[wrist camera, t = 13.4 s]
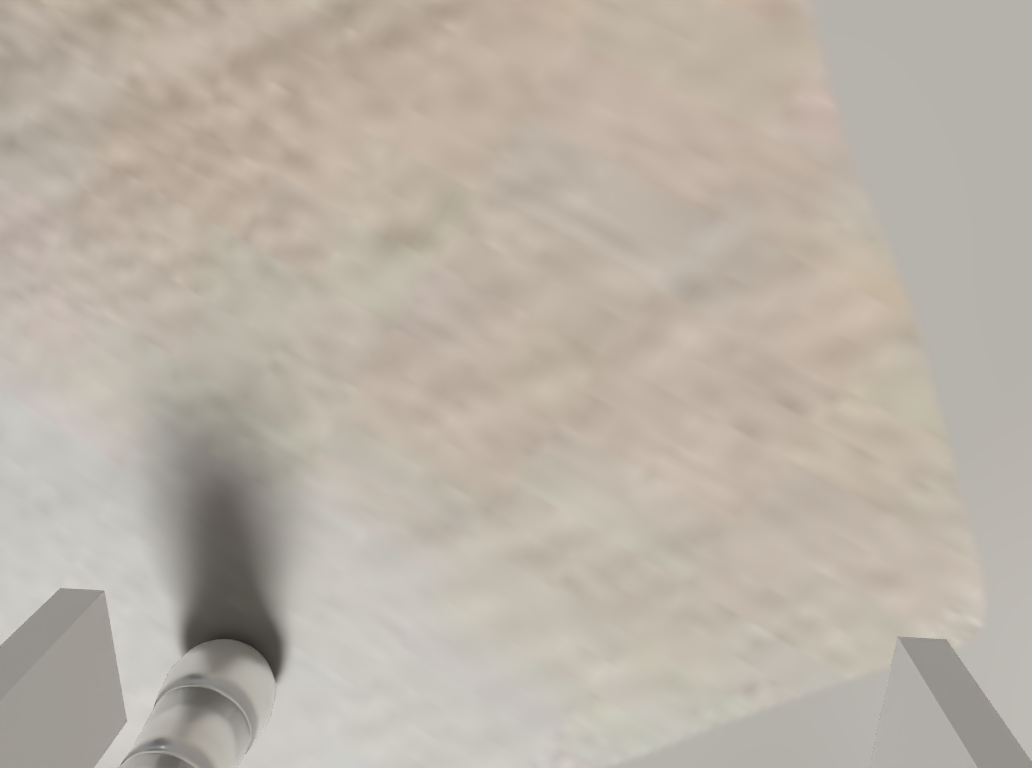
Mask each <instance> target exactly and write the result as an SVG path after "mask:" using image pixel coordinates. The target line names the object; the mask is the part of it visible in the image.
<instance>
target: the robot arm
mask: <svg viewBox="0 0 1032 768" xmlns="http://www.w3.org/2000/svg"><path fill="white" fill-rule="evenodd" d="M126 722H127V719H126V713H125V708H124V702H123V696H122V690H121V684H120V679H119V673H118V667H117V661H116V655H115V650H114V644H113V638H112V632H111V626H110V621H109V615H108V609H107V603H106V598H105V592H104V591H100V590H83V589H65V588H60V589H59V590H58V591H57V592H56V593H55V594H54V595H53V596H52V597H51V598H50V599H49V600H48V601H47V602H46V603H45V604H43V605H42V606H41V607H40V608H39V609H38V610H37V611H36V612H35V613H34V614H33V615H32V616H31V617H30V618H29V619H28V620H27V621H26V622H25V623H24V624H23V625H22V626H21V627H20V628H18V629H17V630H16V631H15V632H14V633H13V634H12V635H11V636H10V637H9V638H8V639H7V640H6V641H5V642H4V643H3V644H2V645H1V646H0V768H94V767H95V766H96V764H97V763H98V761H99V760H100V759H101V757H102V756H103V754H104V753H105V751H106V750H107V749H108V747H109V746H110V744H111V743H112V742H113V740H114V739H115V737H116V736H117V735H118V733H119V732H120V730H121V729H122V728H123V726H124V725H125V723H126ZM869 768H1032V761H1031V760H1030V758H1029V757H1028V756H1027V754H1026V753H1025V751H1024V750H1023V748H1022V747H1021V746H1020V744H1019V743H1018V742H1017V740H1016V738H1015V737H1014V736H1013V734H1012V733H1011V731H1010V730H1009V729H1008V727H1007V726H1006V724H1005V723H1004V721H1003V720H1002V718H1001V717H1000V716H999V714H998V713H997V711H996V710H995V708H994V707H993V706H992V704H991V703H990V701H989V700H988V698H987V697H986V696H985V694H984V693H983V691H982V690H981V688H980V687H979V686H978V684H977V683H976V681H975V680H974V679H973V677H972V675H971V674H970V673H969V671H968V670H967V668H966V667H965V665H964V664H963V663H962V661H961V660H960V658H959V657H958V655H957V654H956V653H955V651H954V650H953V648H952V647H951V645H950V644H949V643H948V641H947V640H946V639H928V638H911V637H897V642H896V646H895V651H894V655H893V660H892V664H891V669H890V674H889V678H888V683H887V687H886V692H885V696H884V701H883V706H882V710H881V715H880V719H879V724H878V728H877V733H876V738H875V742H874V747H873V751H872V756H871V761H870V765H869Z"/></svg>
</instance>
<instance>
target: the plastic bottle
mask: <svg viewBox="0 0 1032 768" xmlns="http://www.w3.org/2000/svg"><path fill="white" fill-rule="evenodd" d="M275 695H276V684H275V680H274V676H273V673H272V671H271V668H270V666H269V664H268V662H267V661H266V659H265V658H264V657H263V656H262V655H261V654H260V653H259V652H258V651H257V650H256V649H254V648H253V647H251V646H249V645H248V644H245V643H243V642H240V641H237V640H232V639H218V640H212V641H207V642H204V643H201V644H198V645H197V646H195V647H193V648H192V649H190V650H189V651H188V652H187V653H186V654H185V655H184V656H183V657H182V658H181V659H180V660H179V661H178V662H177V663H176V664H175V665H174V666H173V667H172V668H171V670H170V671H169V673H168V674H167V677H166V679H165V681H164V683H163V685H162V687H161V689H160V691H159V694H158V697H157V700H156V702H155V705H154V708H153V711H152V712H151V714H150V716H149V718H148V720H147V722H146V724H145V725H144V727H143V729H142V731H141V733H140V735H139V737H138V738H137V740H136V742H135V744H134V746H133V748H132V750H131V751H130V752H129V754H128V755H127V756H126V758H125V759H124V761H123V762H122V764H121V765H120V767H118V768H237V766H238V765H239V763H240V761H241V760H242V758H243V756H244V755H245V754H246V753H247V752H248V750H249V749H250V748H251V747H252V745H253V744H254V743H255V741H256V740H257V739H258V737H259V736H260V734H261V733H262V731H263V730H264V728H265V727H266V725H267V724H268V721H269V719H270V716H271V713H272V708H273V704H274V700H275Z"/></svg>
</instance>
